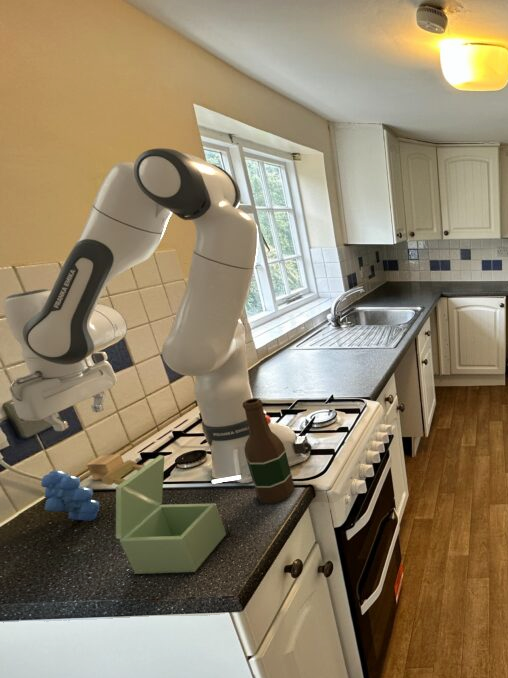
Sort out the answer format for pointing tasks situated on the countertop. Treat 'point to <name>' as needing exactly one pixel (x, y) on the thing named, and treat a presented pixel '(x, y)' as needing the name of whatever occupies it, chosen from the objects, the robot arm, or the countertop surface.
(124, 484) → the box lid
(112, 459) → the block
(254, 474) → the beer bottle
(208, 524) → the container
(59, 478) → the grapes
